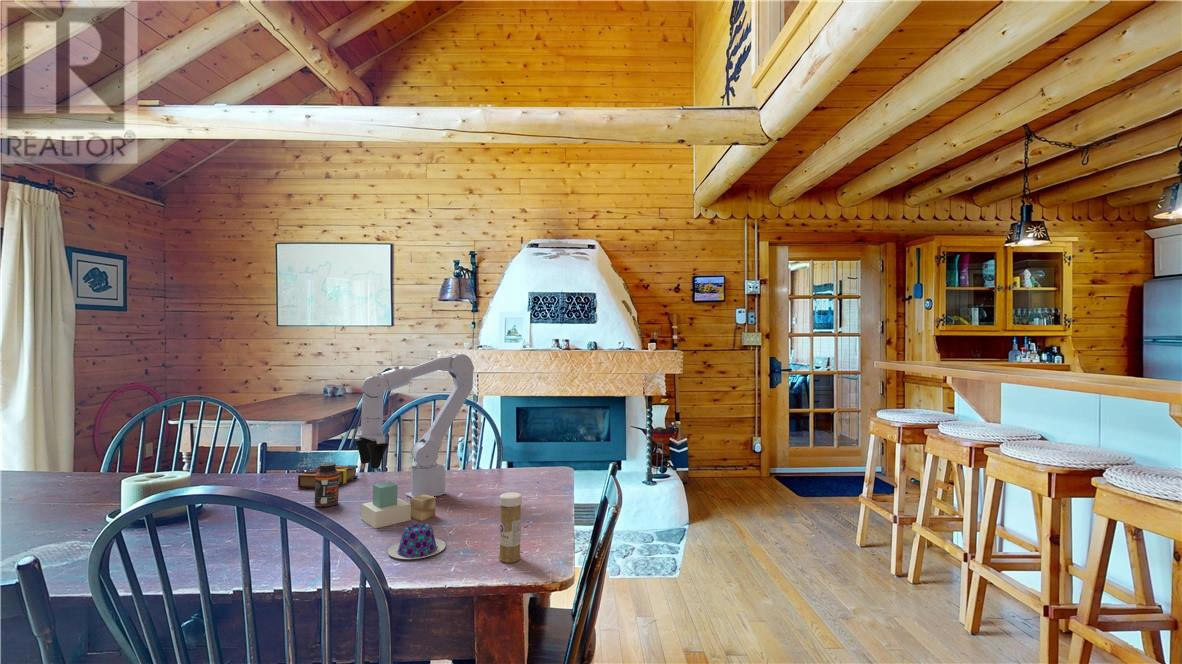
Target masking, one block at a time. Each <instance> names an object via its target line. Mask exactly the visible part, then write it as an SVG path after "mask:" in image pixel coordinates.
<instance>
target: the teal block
mask: <svg viewBox="0 0 1182 664" xmlns="http://www.w3.org/2000/svg"><path fill="white" fill-rule="evenodd" d="M397 498H398V484H397V483H395V482H392V481H385V482H380V483H376V484H375V483H374V484H372V502H373V505H375V506H376V507H378V508H383V507H388V506H393V505H397Z"/></svg>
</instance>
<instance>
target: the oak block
mask: <svg viewBox="0 0 1182 664" xmlns="http://www.w3.org/2000/svg"><path fill="white" fill-rule="evenodd" d="M409 498H410V499H409V504H411V519H412V520H413V519H414V520H417V521H422V522H423V521H425V520H428V519H430V517H431V518H433V516H434V517H436V505H437V504H436V503H437V502H436V500H437V496H435V497H433V496H429V495H420V496H417V497H414V498H411V497H409Z"/></svg>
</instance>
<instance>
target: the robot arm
mask: <svg viewBox="0 0 1182 664" xmlns="http://www.w3.org/2000/svg"><path fill="white" fill-rule="evenodd" d="M437 371H443V372H448V373H449V375H450V376H451V379H452V381H453V384H454V387H453V389H452V390H451V392H450V394H449V395H448V398H447V399H446V400H445V402H444V404H443V406H442V407H441V408H440V411H439V412H438V414H437V416H436V417H435V419H433V422H432V423H431V426H429V428H428V430H427V431H426V432H425V433H424V434H423V435H422V437H421V438H420V440H418V441H417V442H415V443H414V444H413V445H412V447H411V449H410V455H411V457H412V458H413V459H414V460H413V462H412V463H411V471H410V472H411V473H410V475H411V478H410V491H409V492H405V494H404V495H405V496H408V497H409V498H414V497H417V496H420V495H429V496H433V497H434V496H435V497H439V496H443V494H444V495H446V494H447V492H446V468H445V466H444V464H443V463H441V462H440V463H439V462H437V461H438V458H439V451H440V449H441V447H442V444H443V439H444V437H445V435H446V434H447V432H448V431H449V428H451V425H452V424H453V422H454V420H455V419H456V417H457V416H458V414H459V412H460V411H461V409H462V407H463V406H464V404H465V402H466V401H467V399H468V398H469V395H470V393H472V390H473V388H474V371H475V367H474V364H473V361H472V358H470V356H468V355H467V354H458V353H454V354H450V355H444V356H439V357H435V358H433V359H431V360H428V361H426V362H423V363H420V364H418V365H415V366H412V367H410V368H408V367H405V366H403V365H402V366H399V365H395V366H393V369H389V370H387V371H383V372H381V371H379V372H376V374H377V375H372V376H370V375H369V376H368V377H365V379H364V380H363V381H362V384H361V386H360V387H361V391H362V397H361V398H362V402H361V417H360V419H361V420H360V422H361V423H360V430H358V433H357V434H356V437H357V438H356V439H354V443H355V445H356V448H357V450H358V454H359V459H360V463H361V464H362V465H364V464H369V463H370V467H371V469H373V470H374V469H380V468H381V465H382V461H383V456H384V454H385V452H386V451H387V449H388V447H389V442H387V441H386V436H385V435H384V432H383V421H384V420H383V419H384V393H385V392H390V391H393V390H396V389H399V388H402V387H404V386H409V384H411V381H412V380H413V379H415V378H417V377H421V376H424V375H428V374H431V373H433V372H437Z"/></svg>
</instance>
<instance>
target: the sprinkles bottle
mask: <svg viewBox="0 0 1182 664" xmlns="http://www.w3.org/2000/svg"><path fill="white" fill-rule="evenodd" d="M522 497H523V496H522V494H521V493H519V492H512V491H511V492H510V491H509V492H503V493H501V494H500V495H499V505H500V522H499V556H498V559H499V561H500V562H503V563H507V564H510V563H515V562H517V561H519V560H520V559H521V539H522V538H521V537H522V535H521V533H522V529H521V528H522V518H521V516H522V515H521V514H522V512H521V510H522V509H521V507H522V505H521V504H522V502H523V501H522V499H523V498H522Z"/></svg>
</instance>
